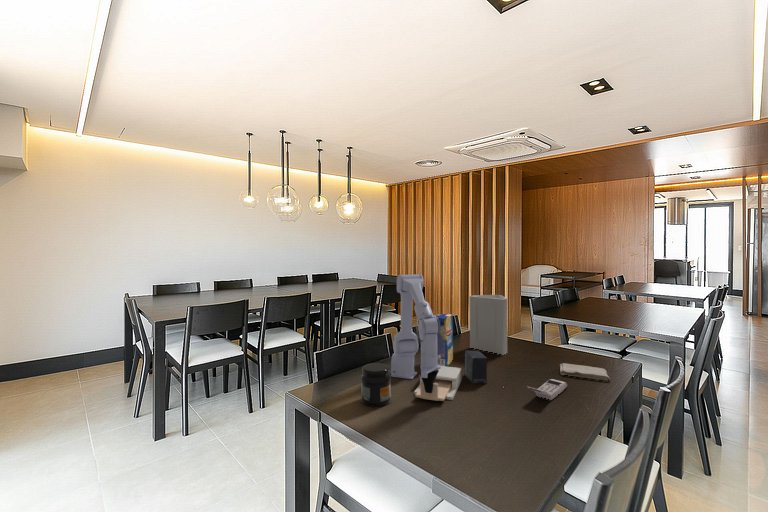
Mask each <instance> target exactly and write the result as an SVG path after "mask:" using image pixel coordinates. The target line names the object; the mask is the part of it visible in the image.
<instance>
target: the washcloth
mask: <svg viewBox="0 0 768 512" xmlns="http://www.w3.org/2000/svg"><path fill="white" fill-rule="evenodd" d="M559 367H560V368H559V369H560V370H559V372H560V375H561V376H564V375H568V376H567V377H570V376H578V377H587V378H594V379H603V380H609V381H610V380H611V379H610V376H609V375H608V372H607V370H606V369H605V368H603V367H602V368H601V367H594V366H591V365H589V366H588V365H581V364H573V363H564V362H563V363H560V364H559Z"/></svg>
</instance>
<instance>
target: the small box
mask: <svg viewBox="0 0 768 512" xmlns="http://www.w3.org/2000/svg"><path fill="white" fill-rule="evenodd" d="M487 370H488V358H487V357H486V356H485V355H484V354H483V353H482V351H479V350H464V376H465V377H466V378H467V380H468V382H470V383H471V384H472V385H474V384H475V385H476V384H478V385H479V384H482V385H483V384H484V385H485V384H487V382H488V381H487V379H488V377H487V375H488V373H487V372H488V371H487Z"/></svg>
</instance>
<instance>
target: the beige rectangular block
mask: <svg viewBox="0 0 768 512" xmlns="http://www.w3.org/2000/svg"><path fill="white" fill-rule="evenodd" d="M451 386H452V382H445V381H438V380H435V383H433V390H432V393H426V392H425V388H424V383H423V381H421V388H420V389H419V391H418V392H417V393H416V395H414V396H415V398H420V399H423V400H430V401H436V402H438V401H440V402H445V400H446V399H445V398H446V396H447V394H448V392H449V390H450V388H451Z"/></svg>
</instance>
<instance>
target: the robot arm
mask: <svg viewBox="0 0 768 512" xmlns="http://www.w3.org/2000/svg"><path fill="white" fill-rule="evenodd" d="M423 276H424V275H422V274H421V273H416V274H398V275H397V277H396V292H397V293H398V294H400V331H398V332H397V333H396V334H394V335H393V342H392V349H393V352H394V353H392V355H391V360H390V369H391V370H390V376H391V378H392V377H393V378H399V379H408V380H412V379H414V377H416V376H417V374H418V372H417V371H415V356H416V355H417V354H416V353H418V351H419V340H418V339H420V365H419V366H420V371H419V375H420V377H421V378H422V380H423V383H424V388H425V392H426V393H432V390H433V383H435V379H436V376H437V374H438V372H439V370H438V369H441V366H439V365H438V363H437V334H439V333H440V322H439V319H438V318H437V317H436V316H435V315H436V314H433V310H432V308H431V305H430V303H429V302H428V301H426V300H425V297H424V293H423V289H424V283H425V282H424V281H425V280H424V277H423ZM413 302H414V304H415V305H414V311H415V315H416V319H417V321H418V322H417V323H418V324H417V329H418V333H419V334H418V335H417V334H416V333H415V332H413ZM418 336H419V338H418ZM420 377H419V378H420Z"/></svg>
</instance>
